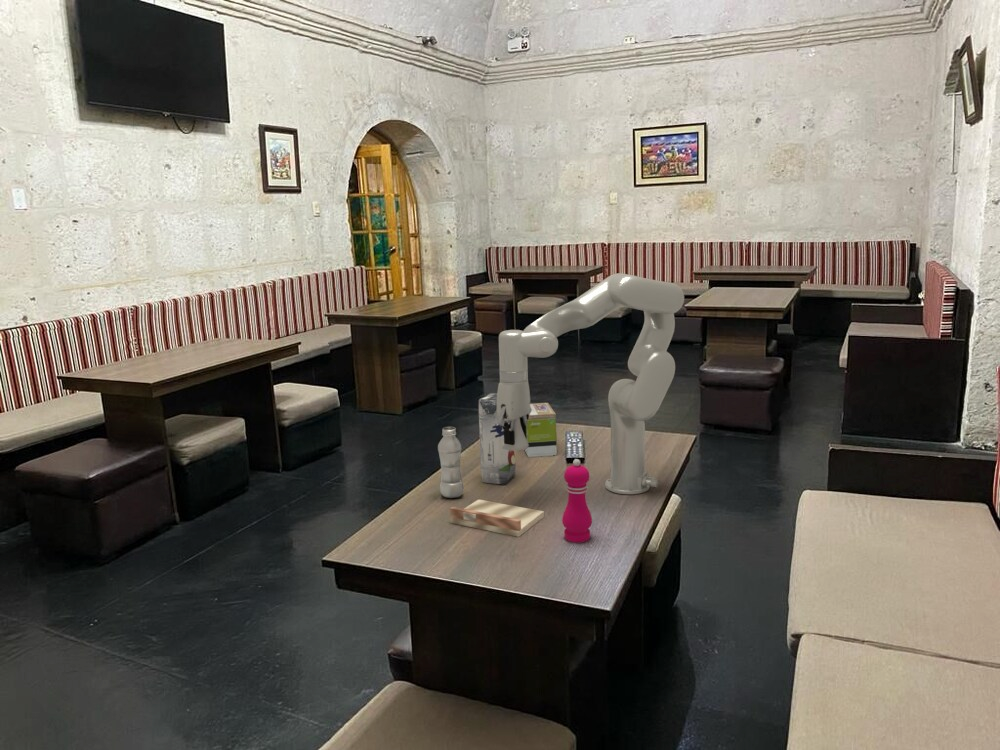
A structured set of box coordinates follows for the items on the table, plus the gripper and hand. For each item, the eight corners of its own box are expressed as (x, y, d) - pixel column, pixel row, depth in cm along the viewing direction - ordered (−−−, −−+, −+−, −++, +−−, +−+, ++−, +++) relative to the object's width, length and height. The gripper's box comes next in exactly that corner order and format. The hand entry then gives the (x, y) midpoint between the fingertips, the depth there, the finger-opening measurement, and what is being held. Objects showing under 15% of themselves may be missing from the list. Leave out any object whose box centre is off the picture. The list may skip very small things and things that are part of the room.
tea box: (521, 444, 260) (520, 403, 257) (549, 443, 261) (549, 401, 258) (527, 458, 245) (526, 414, 242) (557, 456, 246) (557, 412, 243)
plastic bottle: (460, 501, 209) (458, 432, 205) (437, 500, 210) (434, 431, 206) (466, 492, 215) (463, 425, 211) (443, 491, 216) (440, 425, 212)
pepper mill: (572, 546, 178) (572, 466, 174) (556, 535, 185) (555, 457, 181) (597, 539, 182) (597, 460, 178) (581, 529, 188) (580, 452, 184)
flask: (533, 445, 207) (532, 410, 204) (522, 453, 200) (521, 416, 198) (509, 442, 210) (508, 408, 208) (497, 450, 203) (496, 414, 201)
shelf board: (543, 516, 196) (543, 502, 195) (518, 537, 184) (517, 522, 183) (478, 504, 206) (478, 490, 205) (450, 523, 194) (449, 508, 193)
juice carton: (478, 483, 222) (475, 395, 217) (491, 472, 232) (489, 387, 226) (506, 486, 219) (503, 397, 213) (518, 475, 229) (516, 389, 223)
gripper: (520, 369, 210) (521, 432, 213) (483, 380, 196) (485, 447, 200) (542, 372, 205) (544, 435, 209) (506, 383, 192) (508, 451, 196)
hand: (515, 440), depth 204 cm, fingers closed on flask, 4 cm apart
